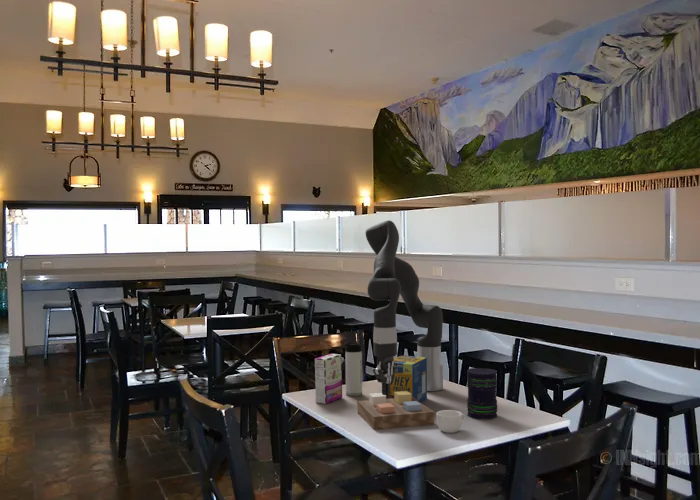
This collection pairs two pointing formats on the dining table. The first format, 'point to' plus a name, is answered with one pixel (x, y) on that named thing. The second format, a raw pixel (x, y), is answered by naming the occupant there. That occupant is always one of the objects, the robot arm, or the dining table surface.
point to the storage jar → (482, 393)
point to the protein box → (410, 377)
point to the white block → (376, 399)
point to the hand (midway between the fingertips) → (386, 394)
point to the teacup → (449, 420)
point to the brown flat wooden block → (395, 415)
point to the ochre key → (402, 397)
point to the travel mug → (353, 369)
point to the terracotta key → (385, 408)
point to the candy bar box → (328, 378)
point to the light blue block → (411, 406)
